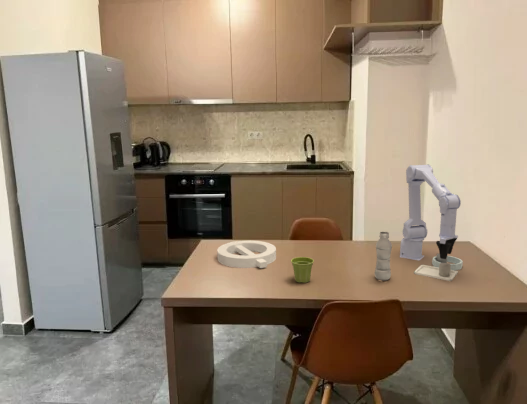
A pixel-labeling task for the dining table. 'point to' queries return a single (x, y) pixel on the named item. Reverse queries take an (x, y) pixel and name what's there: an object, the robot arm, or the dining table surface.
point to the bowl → (451, 259)
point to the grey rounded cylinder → (444, 269)
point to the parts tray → (434, 272)
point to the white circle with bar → (246, 254)
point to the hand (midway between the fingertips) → (445, 256)
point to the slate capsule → (440, 259)
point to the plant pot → (302, 268)
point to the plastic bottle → (383, 257)
